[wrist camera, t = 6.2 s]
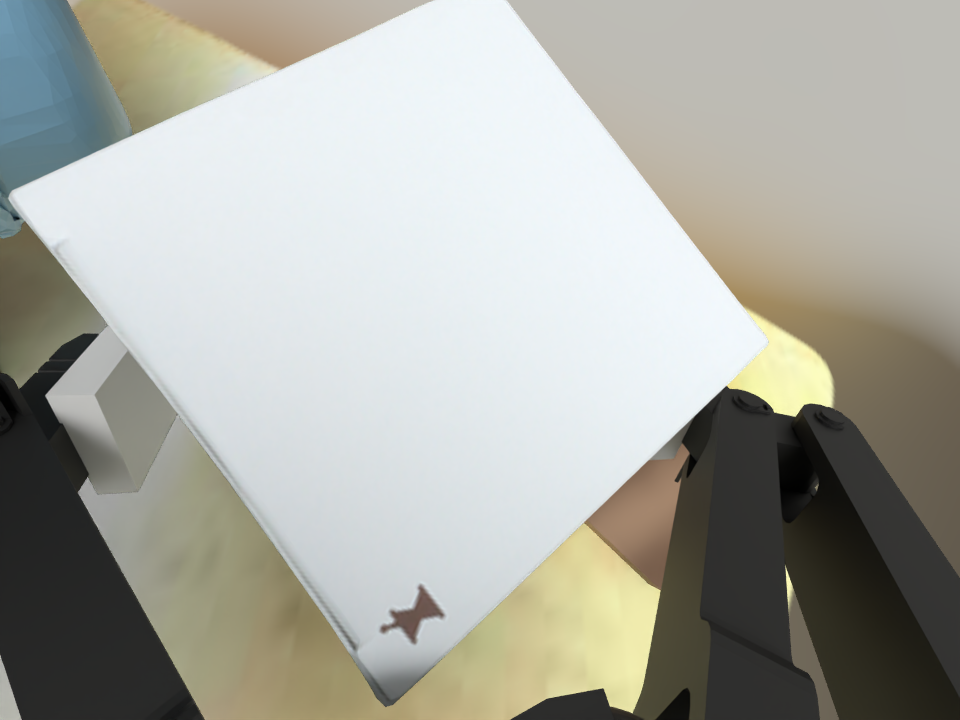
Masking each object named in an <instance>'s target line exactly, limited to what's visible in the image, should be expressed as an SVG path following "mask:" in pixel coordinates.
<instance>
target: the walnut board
mask: <svg viewBox="0 0 960 720" xmlns="http://www.w3.org/2000/svg"><path fill="white" fill-rule="evenodd" d="M688 455H689V451H688V450H687V449H686V447H685V446H684V445H683V443H682V444H681V446H680V448H679V450H678V452H677V453H676V455H675V457H674V459H662V460H648V461H647V462H646V463H645V464H644V465H643V466H642V467H641V468H640V469H639V470H638V471H637V472H636V473H635V474H634V475H633V476H632V477H631V478H630V479H628V480H627V481H626V482H625V483H624V484H623V485H622V486H621V487H620V488H619V489H618V490H617V491H616V492H615V493H614V494H613V495H612V496H611V497H610V498H609V499H608V500H607V501H606V502H605V503H604V504H603V505H602V506H600V507H599V508H598V509H597V510H596V511H595V512H594V513H593V514H592V515H591V516H590V517H589V518H588V519H587V520H586V521H585V522H584V523H585V524H586V525H587V526H589V527H590V528H591V529H592V530H593V531H594V532H595V533H596V534H597V535H598V536H599V537H600V538H601V539H602V540H603V541H604V542H605V543H606V544H607V545H608V546H610V547H611V548H612V549H613V550H614V551H615V552H616V553H617V554H618V555H619V556H620V557H621V558H622V559H623V560H624V561H625V562H626V563H627V564H628V565H630V566H631V567H632V568H633V569H634V570H635V571H636V572H637V573H638V574H639V575H640V576H641V577H642V578H643V579H644V580H645V581H646V582H647V583H648V584H650V585H652V586H654V587H656V588H657V589H659V590H661V587H662V581H663V576H664V570H665V565H666V559H667V554H668V548H669V543H670V538H671V532H672V527H673V521H674V516H675V510H676V505H677V499H678V494H679V488H680V483H681V479H680V481H679V482H678V483H677V482H675V481H674V480H675V479H676V477H677V475H678V473H679V471H680V469H681V468H682V466H683V464H684V462H685V460H686V459H687V457H688Z"/></svg>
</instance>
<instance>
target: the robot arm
mask: <svg viewBox="0 0 960 720" xmlns="http://www.w3.org/2000/svg"><path fill="white" fill-rule="evenodd" d="M130 136H132V129H131V125H130V122H129V119H128V116H127V114H126V112H125V110H124V108H123V106H122V103H121V101H120V99H119V98H118V96H117V94H116V92H115V90H114V88H113V86H112V84H111V82H110V80H109V78H108V76H107V75H106V73H105V71H104V69H103V67H102V65H101V63H100V61H99V59H98V57H97V56H96V54H95V52H94V50H93V48H92V46H91V44H90V42H89V41H88V39H87V37H86V35H85V33H84V31H83V29H82V27H81V26H80V24H79V22H78V20H77V18H76V16H75V14H74V12H73V11H72V9H71V7H70V5H69V3H68V1H67V0H0V238H2V239H3V238H7V237H11V236H14V235H15V234H17V233H18V232H20V231H21V227H22V223H23V222H25V220H24V219H23V218H22V217H21V216H20V215H19V213H18V212H17V211H16V210H15V209H14V208H13V206H12V204H11V203H10V201H9V199H8V198H9V194H10V193H11V191H12V190H14V189H16V188H19V187H21V186H23V185H25V184H27V183H30V182H32V181H34V180H36V179H38V178H41V177H43V176H45V175H47V174H49V173H52V172H54V171H56V170H58V169H60V168H63V167H65V166H67V165H69V164H71V163H73V162H76V161H78V160H80V159H82V158H84V157H86V156H89V155H91V154H93V153H95V152H97V151H99V150H102V149H104V148H106V147H108V146H110V145H112V144H115V143H117V142H119V141H121V140H123V139H126V138H128V137H130ZM176 416H177V413H176V411H175V410H174V409H173V407H172V406H171V405H170V403H169V402H168V401H167V399H166V398H165V397H164V395H163V394H162V393H161V391H160V390H159V389H158V387H157V386H156V385H155V384H154V383H153V381H152V380H151V379H150V378H149V376H148V375H147V374H146V373H145V371H144V370H143V369H142V368H141V366H140V365H139V364H138V363H137V361H136V360H135V359H134V358H133V356H132V355H131V354H130V353H129V351H128V350H127V349H126V347H125V346H124V345H123V343H122V342H121V341H120V339H119V338H118V337H117V336H116V334H115V333H114V332H113V330H112V329H111V328H110V326H109V325H107V327H106V328H105V329H104V330H103V331H102V332H101V333H100V334H82V335H80V336H79V337H77V338H75V339H73V340H71V341H69V342H67V343H66V344H64V345H62V346H61V347H60V348H59V349H58V350H57V351H56V352H55V353H54V354H53V355H52V356H51V357H50V358H49V362H46V363H45V364H44V365H43V366H42V367H41V368H40V369H39V370H38V373H35V374H34V375H33V376H32V377H31V378H30V379H29V380H28V381H27V382H26V383H25V384H24V385H23V386H22V387H21V388H20V389H19V388H18V386H17V384H16V383H15V381H14V379H12V378H11V377H10V376H8V375H7V374H3V373H0V655H1V658H2V661H3V664H4V667H5V670H6V673H7V676H8V679H9V682H10V685H11V688H12V691H13V694H14V698H15V701H16V704H17V707H18V710H19V713H20V716H21V719H22V720H205V719H204V717H203V715H202V714H201V712H200V710H199V708H198V707H197V705H196V703H195V701H194V699H193V698H192V696H191V694H190V692H189V690H188V689H187V687H186V685H185V683H184V682H183V680H182V678H181V676H180V674H179V673H178V671H177V669H176V667H175V666H174V664H173V662H172V660H171V658H170V657H169V655H168V653H167V651H166V649H165V648H164V646H163V644H162V642H161V641H160V639H159V637H158V635H157V633H156V632H155V630H154V628H153V626H152V624H151V623H150V621H149V619H148V617H147V616H146V614H145V612H144V610H143V608H142V607H141V605H140V603H139V601H138V599H137V598H136V596H135V594H134V592H133V591H132V589H131V587H130V585H129V583H128V582H127V580H126V578H125V576H124V574H123V573H122V571H121V569H120V567H119V566H118V564H117V562H116V560H115V558H114V557H113V555H112V553H111V551H110V550H109V548H108V546H107V544H106V542H105V541H104V539H103V537H102V535H101V533H100V532H99V530H98V528H97V526H96V525H95V523H94V521H93V519H92V517H91V516H90V514H89V512H88V510H87V508H86V507H85V505H84V503H83V501H82V500H81V498H80V496H79V494H78V491H79V490H80V488H81V486H82V485H83V483H84V482H85V480H86V479H87V477H88V478H89V479H90V481H91V483H92V485H93V487H94V489H95V491H96V493H97V494H113V493H129V492H138V491H139V489H140V487H141V485H142V483H143V481H144V479H145V477H146V475H147V473H148V471H149V469H150V467H151V465H152V463H153V461H154V459H155V458H156V456H157V454H158V452H159V450H160V448H161V446H162V444H163V442H164V440H165V438H166V436H167V434H168V432H169V430H170V428H171V426H172V424H173V422H174V420H175V418H176ZM682 443H683V445H684V446H685V447H686V449H687V450H688V451H689V455H688V457H687V459H686V460H685V462H684V464H683V466H682V468H681V469H680V471H679V473H678V475H677V477H676V479H675V480H674V481H675V482H677V483H678V482H679V481H680V479H681V483H680V488H679V494H678V499H677V505H676V510H675V516H674V521H673V527H672V532H671V538H670V543H669V548H668V554H667V559H666V565H665V570H664V576H663V581H662V587H661V592H660V598H659V603H658V609H657V614H656V620H655V625H654V631H653V636H652V642H651V647H650V653H649V658H648V664H647V669H646V674H645V680H644V684H643V688H642V691H641V694H640V697H639V699H638V702H637V704H636V707H635V709H634V711H633V714H632V713H630V712H627V711H624V710H621V709H618V708H614V707H610V706H609V703H608V700H607V697H606V694H605V692H604V689H603V688H602V689H597V690H592V691H586V692H581V693H576V694H570V695H565V696H559V697H554V698H549V699H546V700H544V701H542V702H540V703H539V704H537V705H535V706H533V707H532V708H530V709H528V710H526V711H525V712H523V713H521V714H519V715H518V716H516V717H514V718H512V719H511V720H820V717H819V707H818V698H817V694H816V689H815V685H814V682H813V680H812V679H811V677H810V676H809V674H808V673H807V672H805V671H803V670H801V669H799V668H796V667H795V666H794V665H793V662H792V656H791V644H790V629H789V614H788V600H787V585H786V571H785V566H786V568H787V571H788V574H789V577H790V580H791V583H792V586H793V588H794V591H795V594H796V597H797V600H798V603H799V605H800V608H801V611H802V614H803V617H804V620H805V622H806V626H807V628H808V631H809V634H810V637H811V640H812V643H813V646H814V648H815V651H816V654H817V657H818V660H819V663H820V666H821V669H822V671H823V674H824V677H825V680H826V683H827V686H828V688H829V691H830V694H831V697H832V700H833V703H834V706H835V709H836V712H837V714H838V717H839V720H960V578H959V576H958V575H957V573H956V572H955V570H954V569H953V567H952V566H951V564H950V563H949V562H948V560H947V559H946V557H945V556H944V554H943V553H942V551H941V550H940V548H939V547H938V545H937V544H936V542H935V541H934V540H933V538H932V537H931V535H930V534H929V532H928V531H927V529H926V528H925V526H924V525H923V523H922V522H921V520H920V519H919V518H918V516H917V515H916V513H915V512H914V510H913V509H912V507H911V506H910V505H909V503H908V501H907V500H906V498H905V497H904V496H903V494H902V493H901V491H900V490H899V488H898V487H897V486H896V484H895V482H894V481H893V479H892V478H891V476H890V475H889V473H888V472H887V471H886V469H885V468H884V466H883V465H882V463H881V462H880V460H879V459H878V457H877V456H876V454H875V453H874V451H873V450H872V449H871V447H870V446H869V444H868V443H867V441H866V440H865V438H864V437H863V435H862V434H861V432H860V431H859V429H858V428H857V427H856V425H855V424H854V423H853V422H852V421H851V420H850V419H848V418H847V417H845V416H844V415H843V414H842V413H841V412H839V411H837V410H836V411H835V409H833V408H830V407H825V406H822V405H818V404H806V405H804V406H803V407H802V409H801V410H800V411H799V413H798V414H797V416H796V417H793V416H788V415H783V414H778V413H774V411H773V409H772V407H771V406H770V405H769V404H768V403H767V402H766V401H764V400H763V399H761V398H760V397H758V396H756V395H754V394H752V393H749V392H747V391H743V390H739V389H729V388H728V387H727V386H726V387H725V388H723V389H722V390H721V391H720V392H719V393H718V394H717V395H716V396H715V397H714V398H713V399H712V400H711V401H710V402H709V403H708V404H707V405H706V406H704V407H703V408H702V409H701V410H700V411H699V412H698V413H697V414H696V415H695V416H694V417H693V418H692V419H691V420H690V421H689V422H688V423H687V424H686V425H685V426H684V427H683V428H682V429H680V430H679V431H678V432H677V433H676V434H675V435H674V436H673V437H672V438H671V439H670V440H669V441H668V442H667V443H666V444H665V445H664V446H663V447H662V448H661V449H660V450H659V451H658V452H657V453H656V454H654V455H653V456H652V457H651V458H650V459H649V460H662V459H674V457H675V455H676V453H677V452H678V450H679V448H680V446H681V444H682ZM818 483H819V486H818V490H817V491H816V489H815V487H816V486H817V484H818Z"/></svg>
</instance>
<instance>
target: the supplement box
mask: <svg viewBox="0 0 960 720" xmlns="http://www.w3.org/2000/svg"><path fill="white" fill-rule="evenodd" d="M8 199H9V201H10V203H11V204H12V206H13V208H14V209H15V210H16V211H17V212H18V213H19V215H20V216H21V217H22V218H23V219H24V220H25V222H26V223H27V224H28V225H29V226H30V228H31V229H32V230H33V231H34V233H35V234H36V235H37V236H38V237H39V239H40V240H41V241H42V242H43V244H44V245H45V246H46V247H47V248H48V250H49V251H50V252H51V253H52V255H53V256H54V257H55V258H56V259H57V261H58V262H59V263H60V264H61V266H62V267H63V268H64V269H65V271H66V272H67V273H68V274H69V276H70V277H71V278H72V279H73V281H74V282H75V283H76V284H77V286H78V287H79V288H80V289H81V291H82V292H83V293H84V294H85V296H86V297H87V298H88V299H89V301H90V302H91V303H92V304H93V306H94V307H95V308H96V309H97V311H98V312H99V313H100V315H101V316H102V317H103V318H104V320H105V321H106V322H107V324H108V325H109V326H110V328H111V329H112V330H113V332H114V333H115V334H116V336H117V337H118V338H119V339H120V341H121V342H122V343H123V345H124V346H125V347H126V349H127V350H128V351H129V353H130V354H131V355H132V356H133V358H134V359H135V360H136V361H137V363H138V364H139V365H140V366H141V368H142V369H143V370H144V371H145V373H146V374H147V375H148V376H149V378H150V379H151V380H152V381H153V383H154V384H155V385H156V386H157V387H158V389H159V390H160V391H161V393H162V394H163V395H164V397H165V398H166V399H167V401H168V402H169V403H170V405H171V406H172V407H173V409H174V410H175V411H176V413H177V414H178V415H179V417H180V418H181V419H182V421H183V422H184V423H185V425H186V426H187V427H188V429H189V430H190V431H191V433H192V434H193V435H194V437H195V438H196V439H197V441H198V442H199V443H200V445H201V446H202V447H203V448H204V450H205V451H206V452H207V454H208V455H209V456H210V458H211V459H212V460H213V462H214V463H215V464H216V466H217V467H218V468H219V470H220V471H221V472H222V474H223V475H224V476H225V478H226V479H227V480H228V482H229V483H230V485H231V486H232V487H233V489H234V490H235V492H236V493H237V494H238V496H239V497H240V499H241V500H242V501H243V503H244V504H245V506H246V507H247V508H248V510H249V511H250V513H251V514H252V515H253V517H254V518H255V520H256V521H257V522H258V524H259V525H260V527H261V528H262V529H263V531H264V532H265V534H266V535H267V536H268V538H269V539H270V540H271V542H272V543H273V545H274V546H275V547H276V549H277V550H278V552H279V553H280V554H281V556H282V557H283V559H284V560H285V561H286V563H287V564H288V566H289V567H290V568H291V570H292V571H293V573H294V574H295V575H296V577H297V578H298V580H299V581H300V582H301V584H302V585H303V587H304V588H305V590H306V591H307V592H308V594H309V595H310V597H311V598H312V600H313V601H314V602H315V604H316V605H317V607H318V608H319V609H320V611H321V612H322V614H323V615H324V617H325V618H326V619H327V621H328V622H329V624H330V625H331V627H332V628H333V630H334V631H335V633H336V634H337V636H338V637H339V639H340V640H341V642H342V643H343V645H344V646H345V648H346V649H347V651H348V652H349V654H350V655H351V657H352V658H353V660H354V662H355V663H356V665H357V666H358V668H359V669H360V671H361V673H362V674H363V676H364V677H365V679H366V680H367V682H368V684H369V685H370V687H371V689H372V690H373V692H374V694H375V696H376V698H377V699H378V700H379V701H380V702H381V703H382V704H383V705H384V706H385V707H387V706H390V705H393V704H394V703H395V702H396V701H398V700H399V699H400V698H401V697H402V696H403V695H404V694H405V693H406V692H407V691H408V690H409V689H411V688H412V687H413V686H414V685H415V684H416V683H417V682H418V681H419V680H420V679H421V678H422V677H424V676H425V675H426V674H427V673H428V672H429V671H430V670H431V669H432V668H433V667H434V666H435V665H436V664H437V663H438V662H439V661H440V660H441V659H442V658H443V657H444V656H445V655H447V654H448V653H449V652H450V651H451V650H452V649H453V648H454V647H455V646H456V645H457V644H458V643H459V642H460V641H461V640H462V639H463V638H464V637H465V636H466V635H467V634H468V633H470V632H471V631H472V630H473V629H474V628H475V627H476V626H477V625H478V624H479V623H480V622H481V621H482V620H483V619H484V618H485V617H486V616H487V615H488V614H489V613H490V612H491V611H493V610H494V609H495V608H496V607H497V606H498V605H499V604H500V603H501V602H502V601H503V600H504V599H505V598H506V597H507V596H508V595H509V594H510V593H511V592H512V591H513V590H514V589H515V588H516V587H517V586H518V585H520V584H521V583H522V582H523V581H524V580H525V579H526V578H527V577H528V576H529V575H530V574H531V573H532V572H533V571H534V570H535V569H536V568H537V567H538V566H539V565H540V564H541V563H542V562H543V561H544V560H545V559H547V558H548V557H549V556H550V555H551V554H552V553H553V552H554V551H555V550H556V549H557V548H558V547H559V546H560V545H561V544H562V543H563V542H564V541H565V540H566V539H567V538H568V537H569V536H570V535H571V534H572V533H573V532H575V531H576V530H577V529H578V528H579V527H580V526H581V525H582V524H583V523H584V522H585V521H586V520H587V519H588V518H589V517H590V516H591V515H592V514H593V513H594V512H595V511H596V510H597V509H598V508H599V507H600V506H602V505H603V504H604V503H605V502H606V501H607V500H608V499H609V498H610V497H611V496H612V495H613V494H614V493H615V492H616V491H617V490H618V489H619V488H620V487H621V486H622V485H623V484H624V483H625V482H626V481H627V480H628V479H630V478H631V477H632V476H633V475H634V474H635V473H636V472H637V471H638V470H639V469H640V468H641V467H642V466H643V465H644V464H645V463H646V462H647V461H648V460H649V459H650V458H651V457H652V456H653V455H654V454H656V453H657V452H658V451H659V450H660V449H661V448H662V447H663V446H664V445H665V444H666V443H667V442H668V441H669V440H670V439H671V438H672V437H673V436H674V435H675V434H676V433H677V432H678V431H679V430H680V429H682V428H683V427H684V426H685V425H686V424H687V423H688V422H689V421H690V420H691V419H692V418H693V417H694V416H695V415H696V414H697V413H698V412H699V411H700V410H701V409H702V408H703V407H704V406H706V405H707V404H708V403H709V402H710V401H711V400H712V399H713V398H714V397H715V396H716V395H717V394H718V393H719V392H720V391H721V390H722V389H723V388H725V387H726V386H727V385H728V384H729V383H730V382H731V381H732V380H733V379H734V378H735V377H736V376H737V375H738V374H739V373H740V372H741V371H742V370H743V369H744V368H745V367H746V366H747V365H748V364H749V363H750V362H751V361H752V360H753V359H754V358H755V357H756V356H757V355H758V354H759V353H760V352H761V351H762V350H763V349H764V348H765V347H766V346H767V345H768V343H769V341H768V339H767V337H766V335H765V334H764V333H763V332H762V330H761V329H760V328H759V327H758V325H757V324H756V323H755V321H754V320H753V319H752V318H751V316H750V315H749V314H748V313H747V311H746V310H745V309H744V308H743V306H742V305H741V304H740V303H739V301H738V300H737V299H736V298H735V296H734V295H733V294H732V293H731V291H730V290H729V289H728V287H727V286H726V285H725V283H724V282H723V281H722V280H721V278H720V277H719V276H718V274H717V273H716V272H715V271H714V269H713V268H712V267H711V265H710V264H709V263H708V261H707V260H706V259H705V257H704V256H703V255H702V254H701V253H700V251H699V250H698V248H697V247H696V246H695V245H694V243H693V242H692V241H691V239H690V238H689V237H688V236H687V234H686V233H685V232H684V230H683V229H682V228H681V226H680V225H679V224H678V223H677V221H676V220H675V219H674V217H673V216H672V215H671V213H670V212H669V211H668V210H667V208H666V207H665V206H664V204H663V203H662V202H661V201H660V199H659V198H658V197H657V195H656V194H655V193H654V191H653V190H652V189H651V187H650V186H649V185H648V184H647V182H646V181H645V180H644V178H643V177H642V176H641V175H640V173H639V172H638V171H637V169H636V168H635V167H634V165H633V164H632V163H631V161H630V160H629V159H628V158H627V156H626V155H625V154H624V152H623V151H622V150H621V148H620V147H619V146H618V144H617V143H616V142H615V140H614V139H613V138H612V137H611V135H610V134H609V133H608V131H607V130H606V129H605V128H604V127H603V125H602V124H601V123H600V121H599V120H598V119H597V117H596V116H595V115H594V114H593V112H592V111H591V110H590V109H589V107H588V106H587V105H586V103H585V102H584V101H583V100H582V98H581V97H580V96H579V95H578V93H577V92H576V91H575V89H574V88H573V87H572V85H571V84H570V83H569V81H568V80H567V79H566V77H565V76H564V75H563V73H562V72H561V71H560V70H559V68H558V67H557V66H556V64H555V63H554V62H553V61H552V59H551V58H550V57H549V55H548V54H547V53H546V52H545V50H544V49H543V48H542V47H541V45H540V44H539V43H538V41H537V40H536V38H535V37H534V36H533V35H532V33H531V32H530V31H529V29H528V28H527V26H526V25H525V24H524V23H523V21H522V20H521V19H520V17H519V16H518V15H517V13H516V12H515V11H514V9H513V8H512V7H511V5H510V4H509V3H508V1H507V0H433V1H431V2H428V3H426V4H423V5H421V6H419V7H417V8H414V9H412V10H410V11H408V12H406V13H404V14H402V15H400V16H397V17H395V18H393V19H391V20H389V21H387V22H385V23H382V24H380V25H378V26H376V27H374V28H372V29H370V30H367V31H365V32H363V33H361V34H359V35H357V36H355V37H353V38H350V39H348V40H346V41H344V42H341V43H339V44H337V45H335V46H332V47H330V48H328V49H326V50H323V51H322V52H319V53H317V54H315V55H313V56H310V57H308V58H306V59H303V60H301V61H299V62H297V63H295V64H292V65H290V66H288V67H285V68H283V69H281V70H279V71H277V72H274V73H272V74H270V75H268V76H265V77H263V78H261V79H258V80H256V81H254V82H251V83H249V84H247V85H245V86H242V87H240V88H238V89H235V90H233V91H231V92H229V93H226V94H224V95H222V96H219V97H217V98H215V99H212V100H210V101H208V102H206V103H203V104H201V105H199V106H196V107H194V108H192V109H190V110H187V111H185V112H183V113H180V114H178V115H176V116H174V117H171V118H169V119H167V120H165V121H163V122H161V123H158V124H156V125H154V126H152V127H150V128H147V129H145V130H143V131H141V132H139V133H137V134H134V135H132V136H130V137H128V138H126V139H123V140H121V141H119V142H117V143H115V144H112V145H110V146H108V147H106V148H104V149H102V150H99V151H97V152H95V153H93V154H91V155H89V156H86V157H84V158H82V159H80V160H78V161H76V162H73V163H71V164H69V165H67V166H65V167H63V168H60V169H58V170H56V171H54V172H52V173H49V174H47V175H45V176H43V177H41V178H38V179H36V180H34V181H32V182H30V183H27V184H25V185H23V186H21V187H19V188H16V189H14V190H12V191H11V193H10V194H9V198H8Z"/></svg>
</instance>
